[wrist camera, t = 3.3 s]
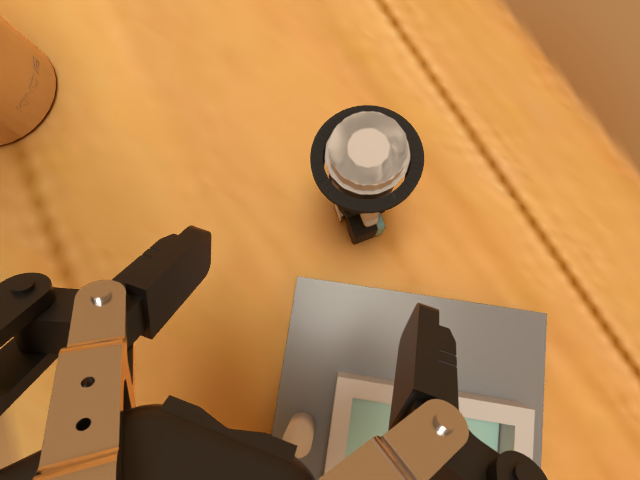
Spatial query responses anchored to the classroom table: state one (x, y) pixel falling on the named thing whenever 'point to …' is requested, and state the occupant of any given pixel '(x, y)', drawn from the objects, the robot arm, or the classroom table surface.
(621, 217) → the classroom table surface
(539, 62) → the classroom table surface
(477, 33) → the classroom table surface
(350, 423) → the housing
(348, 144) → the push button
